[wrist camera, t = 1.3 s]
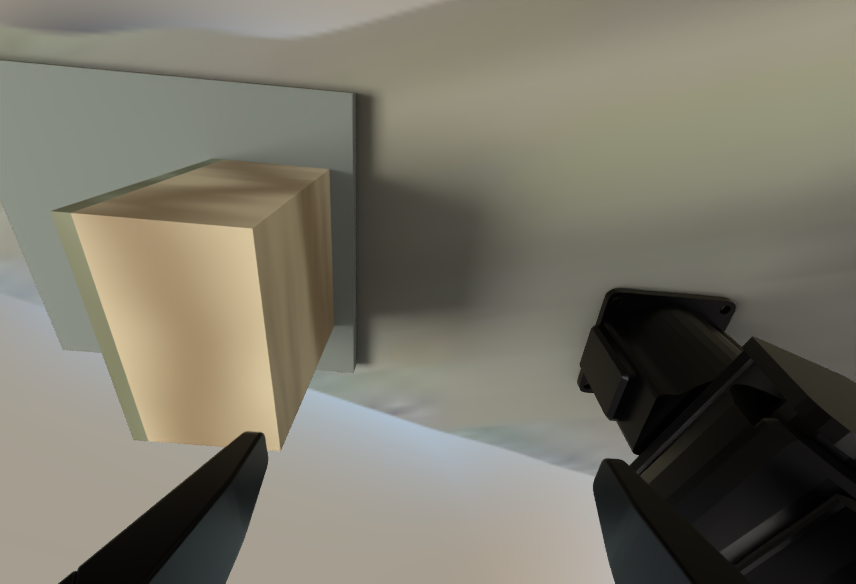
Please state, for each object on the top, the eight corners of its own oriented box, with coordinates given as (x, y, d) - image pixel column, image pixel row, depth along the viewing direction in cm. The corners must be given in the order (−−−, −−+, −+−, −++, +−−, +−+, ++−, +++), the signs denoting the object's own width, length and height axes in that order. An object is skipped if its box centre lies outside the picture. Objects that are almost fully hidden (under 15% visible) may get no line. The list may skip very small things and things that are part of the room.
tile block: (329, 168, 17) (252, 228, 10) (334, 326, 21) (280, 451, 14) (212, 158, 17) (50, 211, 10) (238, 318, 21) (133, 440, 14)
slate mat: (356, 92, 16) (352, 93, 16) (356, 364, 23) (353, 372, 22) (-39, 56, 16) (-61, 55, 15) (74, 341, 23) (62, 349, 22)
